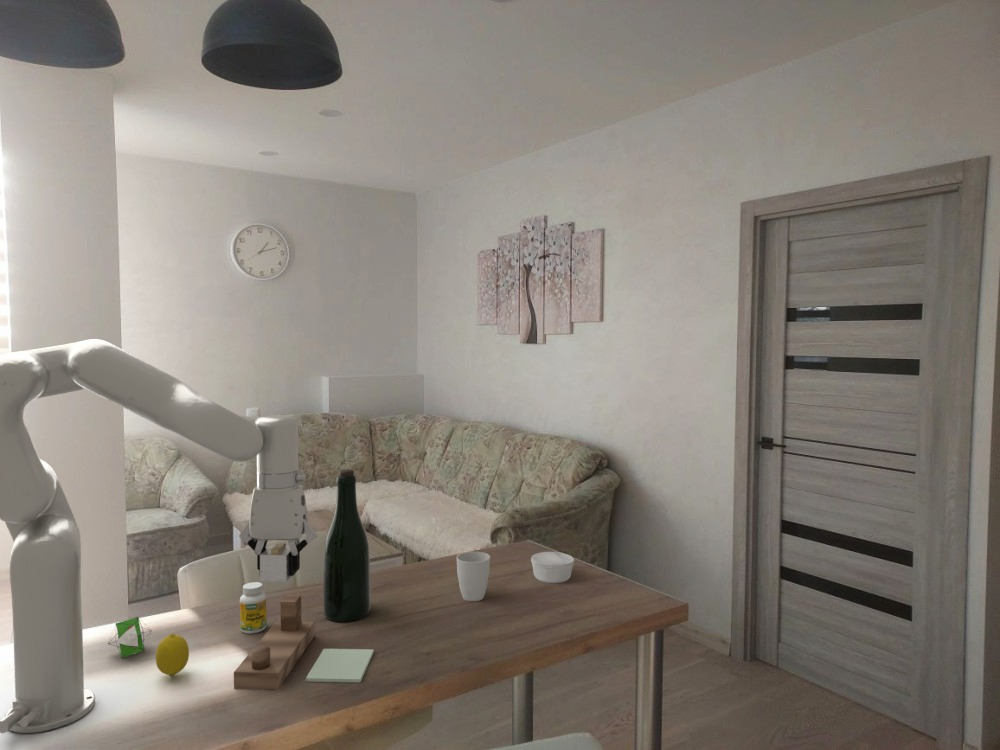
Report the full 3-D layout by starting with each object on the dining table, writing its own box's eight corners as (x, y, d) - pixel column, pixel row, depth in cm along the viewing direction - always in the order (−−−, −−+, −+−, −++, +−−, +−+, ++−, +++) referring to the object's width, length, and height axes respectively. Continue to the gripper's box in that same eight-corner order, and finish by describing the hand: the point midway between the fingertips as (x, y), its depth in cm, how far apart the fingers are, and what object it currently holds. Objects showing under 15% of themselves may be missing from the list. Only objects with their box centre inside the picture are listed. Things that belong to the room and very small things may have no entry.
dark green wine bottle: (376, 618, 155) (375, 472, 153) (328, 626, 150) (327, 475, 148) (363, 601, 164) (363, 464, 162) (318, 609, 160) (317, 467, 158)
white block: (286, 581, 130) (286, 551, 130) (260, 581, 131) (259, 550, 130) (296, 570, 136) (296, 541, 136) (271, 570, 136) (270, 541, 136)
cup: (496, 595, 169) (496, 555, 168) (477, 606, 162) (477, 564, 162) (468, 588, 173) (469, 549, 173) (449, 599, 166) (449, 558, 166)
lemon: (167, 686, 124) (166, 643, 124) (149, 678, 127) (148, 635, 127) (195, 674, 129) (194, 632, 128) (177, 666, 132) (176, 625, 131)
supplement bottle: (262, 621, 152) (262, 579, 152) (269, 630, 148) (269, 586, 147) (237, 627, 149) (236, 583, 149) (243, 636, 145) (242, 591, 144)
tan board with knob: (278, 689, 123) (277, 640, 123) (233, 688, 124) (233, 639, 123) (314, 636, 145) (313, 594, 145) (276, 635, 146) (275, 593, 145)
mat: (360, 682, 126) (360, 679, 126) (305, 681, 126) (305, 678, 126) (373, 652, 138) (373, 649, 138) (323, 651, 138) (323, 648, 138)
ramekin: (582, 577, 183) (582, 557, 182) (556, 588, 174) (557, 567, 174) (548, 567, 190) (548, 548, 190) (522, 578, 182) (522, 558, 181)
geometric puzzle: (101, 640, 138) (109, 615, 134) (137, 629, 143) (146, 605, 140) (112, 670, 134) (122, 645, 131) (149, 658, 140) (159, 634, 136)
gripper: (327, 476, 136) (327, 567, 137) (241, 475, 136) (242, 566, 137) (316, 484, 129) (317, 581, 130) (225, 483, 129) (226, 579, 130)
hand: (278, 572), depth 133 cm, fingers closed on white block, 5 cm apart
